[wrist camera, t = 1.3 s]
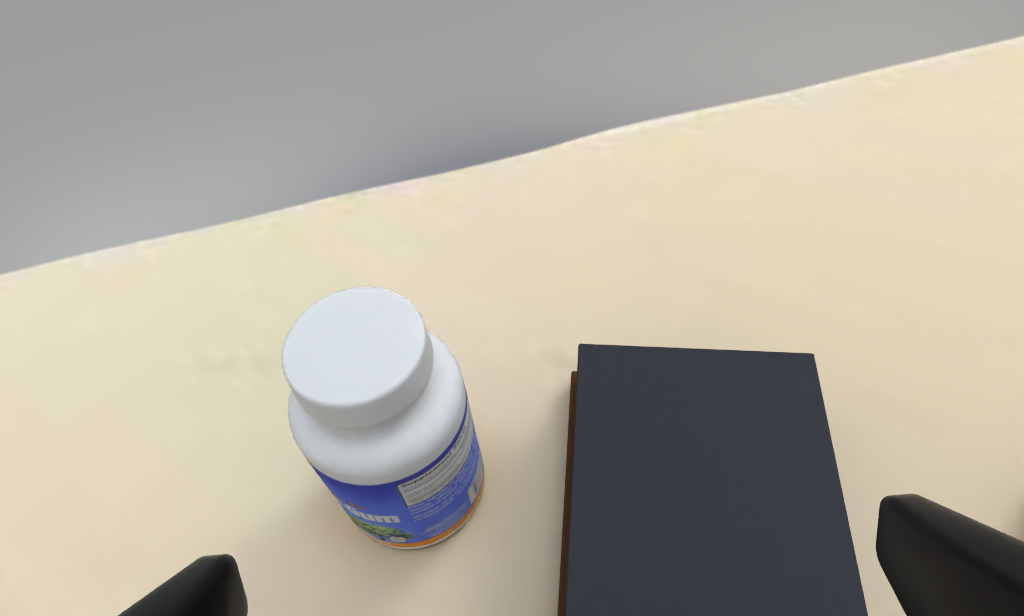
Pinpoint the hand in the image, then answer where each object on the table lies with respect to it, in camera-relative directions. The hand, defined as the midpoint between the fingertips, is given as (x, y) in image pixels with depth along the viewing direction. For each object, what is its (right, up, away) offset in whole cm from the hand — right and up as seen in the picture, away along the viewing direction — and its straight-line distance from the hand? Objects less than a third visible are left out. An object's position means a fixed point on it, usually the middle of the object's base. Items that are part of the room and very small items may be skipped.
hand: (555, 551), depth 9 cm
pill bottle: (-4, -4, +17) cm, 17 cm away
